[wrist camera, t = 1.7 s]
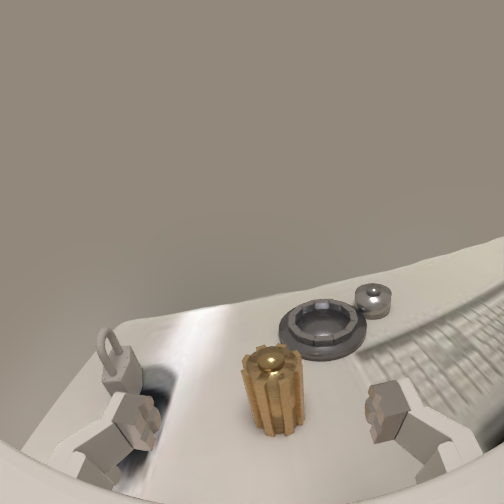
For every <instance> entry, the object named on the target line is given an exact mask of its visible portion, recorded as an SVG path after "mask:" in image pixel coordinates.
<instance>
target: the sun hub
mask: <svg viewBox="0 0 504 504" xmlns="http://www.w3.org/2000/svg"><path fill="white" fill-rule="evenodd" d="M391 294H392V293H391V290H390V289H389V288H388V287H386V286H384V285H381V284H375V283H371V284H365V285H362V286H360V287H358V288H357V289H356V291H355V308H356V309H358V310H359V311H360V312H361V313H362V314H363V316H364V317H365V319H380V318H383V317H385V316H386V315H387V314H388V313H389V311H390V303H391Z"/></svg>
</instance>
